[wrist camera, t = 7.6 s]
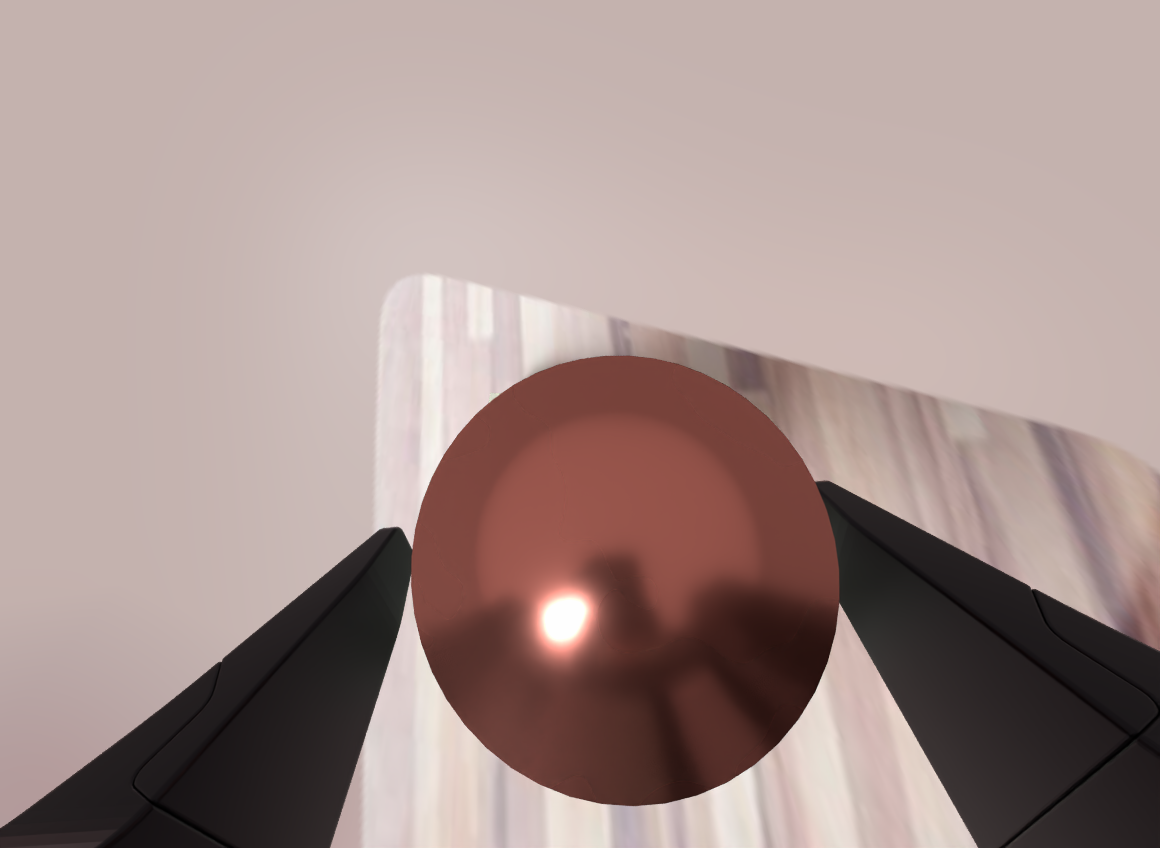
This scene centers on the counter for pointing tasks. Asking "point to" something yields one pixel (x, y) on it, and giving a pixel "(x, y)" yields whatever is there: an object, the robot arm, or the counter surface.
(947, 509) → the counter surface
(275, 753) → the robot arm
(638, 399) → the pin
